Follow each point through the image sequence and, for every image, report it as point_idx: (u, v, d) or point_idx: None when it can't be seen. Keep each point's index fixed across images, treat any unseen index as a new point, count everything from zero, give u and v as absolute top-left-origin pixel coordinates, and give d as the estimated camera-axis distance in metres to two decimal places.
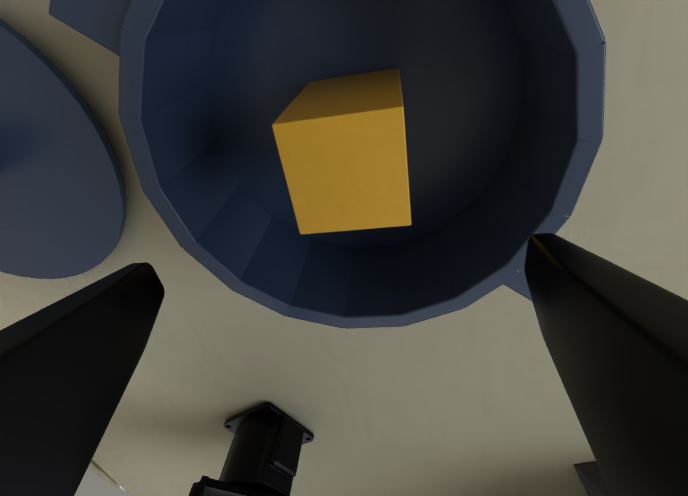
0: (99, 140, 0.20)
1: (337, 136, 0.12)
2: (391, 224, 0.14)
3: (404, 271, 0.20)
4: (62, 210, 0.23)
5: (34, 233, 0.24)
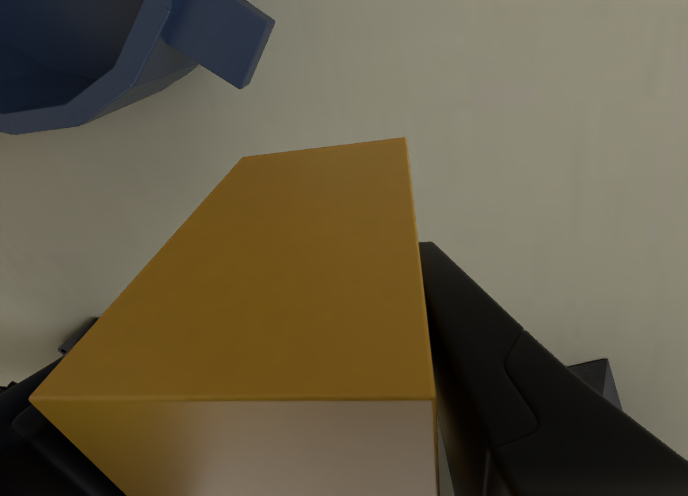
0: None
1: (226, 435, 0.04)
2: None
3: None
4: None
5: None
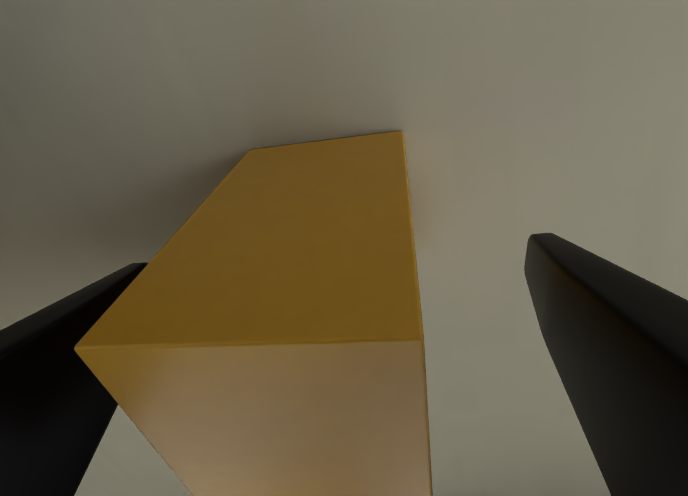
0: None
1: (244, 379, 0.04)
2: None
3: None
4: None
5: None
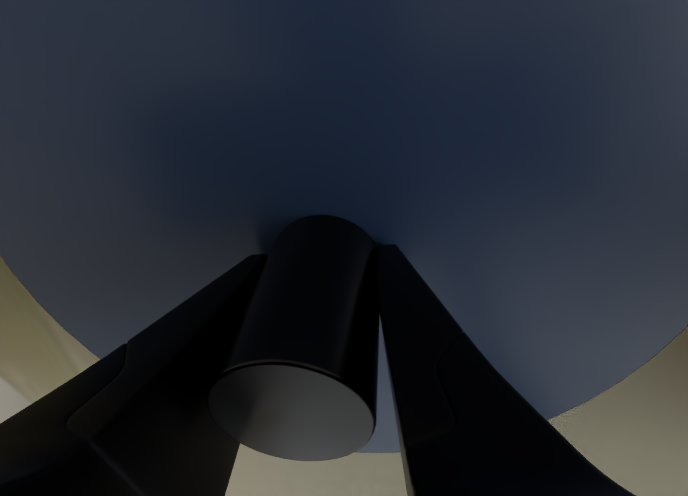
0: None
1: None
2: None
3: None
4: None
5: (382, 392, 0.12)
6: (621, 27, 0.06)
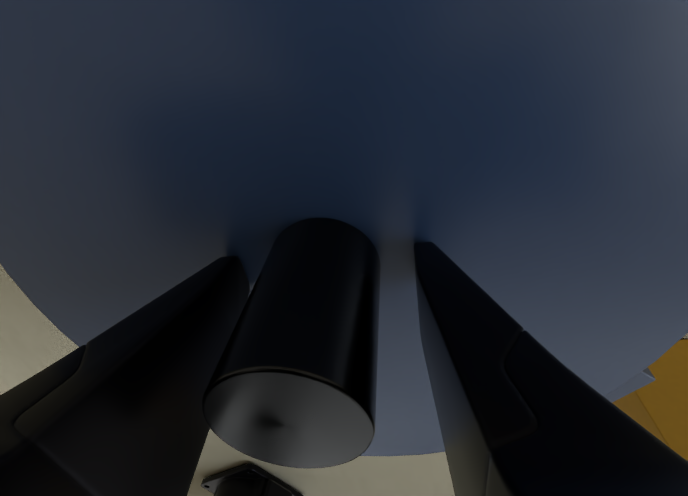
0: None
1: None
2: None
3: None
4: None
5: (382, 395, 0.11)
6: (624, 28, 0.06)
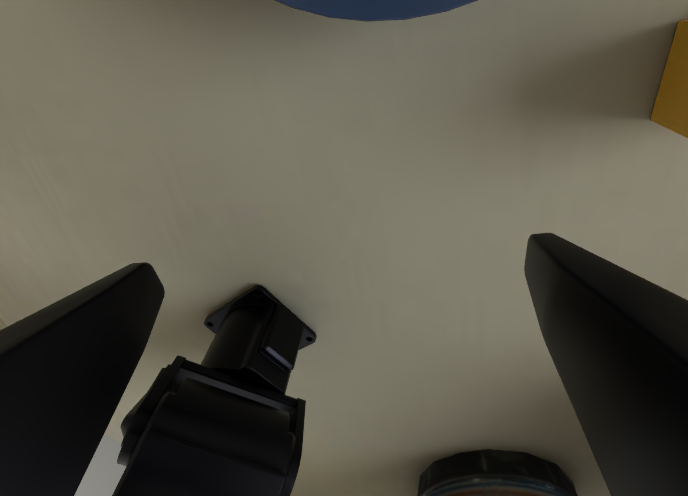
0: None
1: None
2: None
3: None
4: None
5: None
6: None
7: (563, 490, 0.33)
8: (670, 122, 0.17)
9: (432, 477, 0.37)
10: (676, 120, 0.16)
